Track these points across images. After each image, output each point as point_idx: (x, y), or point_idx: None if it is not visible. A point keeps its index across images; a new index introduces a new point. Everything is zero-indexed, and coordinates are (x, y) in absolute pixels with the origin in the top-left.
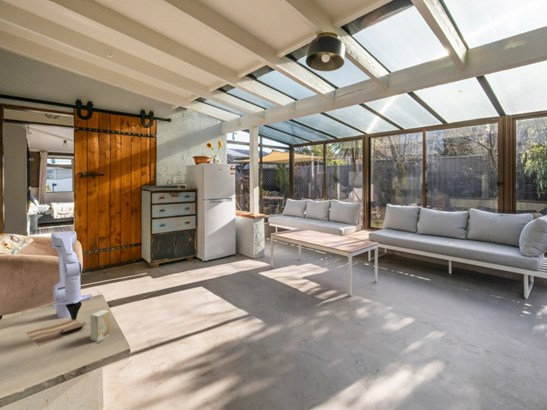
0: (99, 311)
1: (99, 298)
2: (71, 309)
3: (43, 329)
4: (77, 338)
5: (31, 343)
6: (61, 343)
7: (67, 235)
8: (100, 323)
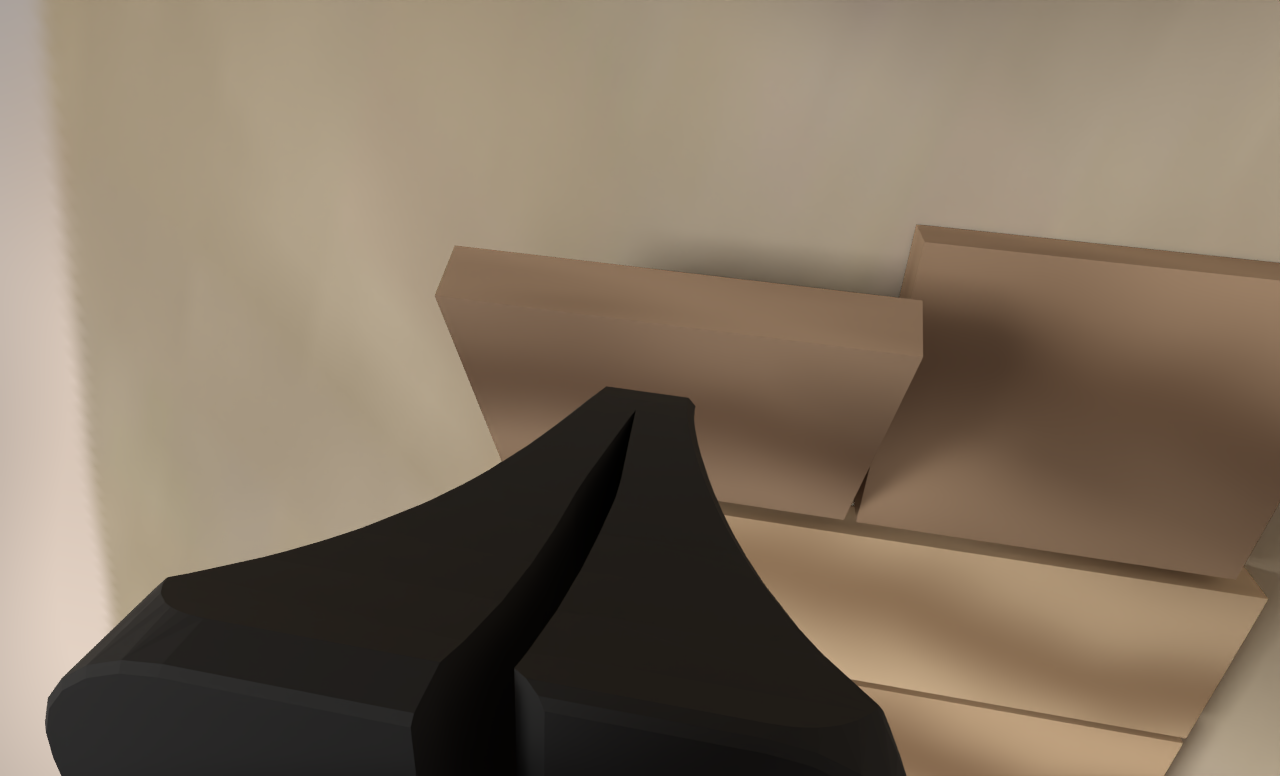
0: None
1: None
2: (728, 630)
3: (940, 763)
4: (724, 67)
5: (1255, 558)
6: (1012, 121)
7: None
8: None
